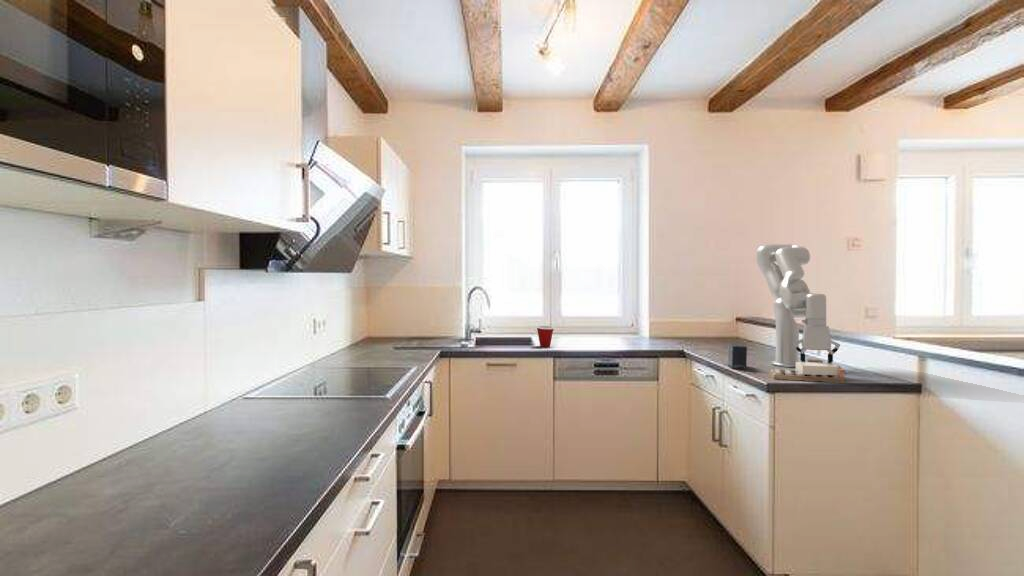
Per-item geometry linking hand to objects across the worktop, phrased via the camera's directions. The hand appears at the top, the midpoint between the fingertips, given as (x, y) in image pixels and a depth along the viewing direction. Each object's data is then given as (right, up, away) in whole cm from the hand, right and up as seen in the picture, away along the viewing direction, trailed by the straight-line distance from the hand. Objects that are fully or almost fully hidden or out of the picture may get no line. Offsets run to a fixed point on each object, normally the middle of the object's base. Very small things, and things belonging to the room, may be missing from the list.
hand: (816, 363), depth 217 cm
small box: (-26, -5, +18) cm, 32 cm away
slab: (-5, -3, -8) cm, 9 cm away
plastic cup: (-109, -3, +86) cm, 139 cm away
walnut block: (0, -5, +1) cm, 5 cm away
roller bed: (-8, -5, -6) cm, 12 cm away
